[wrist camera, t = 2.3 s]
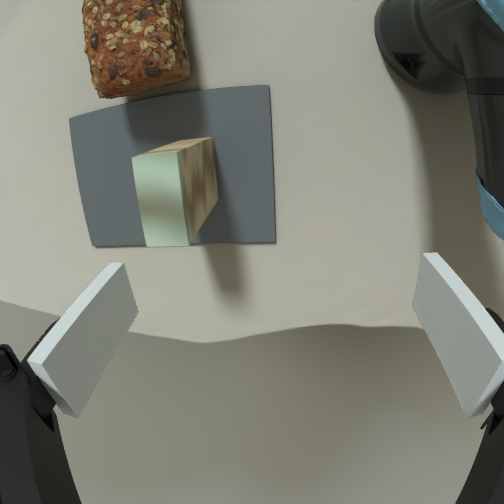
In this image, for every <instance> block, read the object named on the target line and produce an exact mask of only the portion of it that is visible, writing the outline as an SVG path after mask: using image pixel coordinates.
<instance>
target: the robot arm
mask: <svg viewBox="0 0 504 504" xmlns="http://www.w3.org/2000/svg"><path fill="white" fill-rule="evenodd" d="M375 35H376V39H377V42H378V45H379V48H380V50H381V52H382V54H383V56H384V57H385V59H386V60H387V62H388V63H389V65H390V66H391V67H392V68H393V70H394V71H395V72H396V73H397V74H398V75H399V76H400V77H401V78H403V79H404V80H405V81H406V82H408V83H409V84H411V85H413V86H414V87H416V88H418V89H420V90H423V91H426V92H430V93H437V94H443V93H454V92H458V91H460V90H463V89H465V88H466V89H467V93H468V94H467V96H468V101H469V107H470V112H471V118H472V125H473V132H474V139H475V148H476V161H477V168H476V179H477V182H478V186H479V198H480V209H481V213H482V215H483V218H484V220H485V221H486V222H487V224H488V225H489V226H490V228H491V229H492V231H493V232H494V233H495V234H496V235H497V236H499V237H500V238H501V239H502V240H504V0H384V1H383V2H382V3H381V4H380V6H379V7H378V10H377V12H376V16H375ZM412 308H413V309H414V311H415V313H416V315H417V317H418V319H419V320H420V322H421V324H422V326H423V328H424V330H425V332H426V333H427V335H428V337H429V339H430V341H431V343H432V345H433V347H434V349H435V351H436V353H437V355H438V357H439V359H440V361H441V363H442V366H443V368H444V370H445V372H446V374H447V376H448V378H449V380H450V383H451V385H452V387H453V389H454V392H455V394H456V396H457V398H458V401H459V403H460V406H461V408H462V410H463V413H464V415H465V418H466V419H467V418H470V417H473V416H476V415H479V414H482V413H483V412H484V411H485V409H486V408H487V407H488V405H489V404H490V402H491V404H492V406H493V408H494V409H493V411H492V413H491V414H490V415H489V416H488V418H487V419H486V420H485V422H484V423H483V424H482V426H481V428H480V429H483V428H484V427H485V425H486V424H487V426H486V430H485V433H484V436H483V439H482V442H481V444H480V447H479V450H478V453H477V455H476V458H475V461H474V463H473V466H472V468H471V471H470V473H469V475H468V478H467V480H466V482H465V485H464V487H463V489H462V491H461V493H460V495H459V497H458V499H457V501H456V504H504V322H503V321H502V319H501V318H500V317H499V316H498V315H497V314H496V313H495V312H493V311H492V310H491V309H489V308H484V307H483V306H482V304H481V303H480V302H479V301H478V299H477V298H476V297H475V296H474V294H473V293H472V292H471V291H470V290H469V288H468V287H467V286H466V285H465V284H464V282H463V281H462V280H461V279H460V278H459V277H458V275H457V274H456V273H455V272H454V271H453V270H452V269H451V267H450V266H449V265H448V264H447V263H446V262H445V261H444V260H443V259H442V257H441V256H440V255H439V254H438V253H422V259H421V264H420V270H419V275H418V280H417V284H416V289H415V293H414V298H413V302H412ZM138 313H139V311H138V308H137V305H136V302H135V299H134V296H133V292H132V289H131V286H130V282H129V279H128V275H127V272H126V268H125V265H124V263H110V264H109V265H108V266H107V267H106V268H105V269H104V270H103V271H102V272H101V273H100V274H99V275H98V276H97V277H96V279H95V280H94V281H93V282H92V283H91V284H90V285H89V286H88V287H87V288H86V289H85V291H84V292H83V293H82V294H81V295H80V296H79V297H78V298H77V300H76V301H75V302H74V303H73V304H72V305H71V306H70V308H69V309H68V310H67V311H66V312H65V313H64V315H63V316H62V317H61V318H60V319H58V320H57V321H55V322H54V323H52V324H51V325H50V327H49V328H48V329H47V330H46V331H45V334H43V335H42V336H41V338H40V339H39V341H37V342H36V344H35V345H34V346H33V348H32V349H31V350H30V351H29V352H28V354H27V355H26V356H25V357H24V359H23V360H22V362H21V363H20V362H19V360H18V359H17V357H16V355H15V354H14V352H13V350H12V349H11V347H10V346H9V345H7V344H2V345H0V504H81V501H80V498H79V495H78V492H77V490H76V487H75V484H74V481H73V478H72V474H71V471H70V468H69V464H68V461H67V458H66V454H65V450H64V446H63V442H62V438H61V434H60V430H59V425H58V420H57V416H56V414H55V412H54V410H53V408H54V406H55V404H57V406H58V407H59V408H60V409H61V411H62V412H63V413H64V414H67V415H70V416H73V417H77V418H79V416H80V415H81V413H82V411H83V409H84V407H85V405H86V403H87V401H88V400H89V398H90V396H91V394H92V392H93V390H94V388H95V387H96V385H97V383H98V381H99V379H100V378H101V376H102V374H103V372H104V370H105V369H106V367H107V365H108V363H109V361H110V360H111V358H112V356H113V355H114V353H115V351H116V349H117V348H118V346H119V344H120V343H121V341H122V339H123V337H124V336H125V334H126V332H127V331H128V329H129V327H130V326H131V324H132V322H133V321H134V319H135V317H136V316H137V314H138Z"/></svg>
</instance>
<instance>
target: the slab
mask: <svg viewBox="0 0 504 504" xmlns="http://www.w3.org/2000/svg"><path fill="white" fill-rule="evenodd" d="M132 165H133V172H134V179H135V186H136V192H137V198H138V204H139V210H140V215H141V221H142V226H143V231H144V236H145V241H146V246H147V247H157V246H189V245H190V243H191V241H192V240H193V238H194V237H195V235H196V233H197V232H198V230H199V229H200V227H201V226H202V224H203V222H204V221H205V219H206V218H207V216H208V215H209V213H210V212H211V210H212V208H213V207H214V205H215V204H216V202H217V201H218V190H217V179H216V168H215V156H214V144H213V137H206V138H196V139H186V140H180V141H177V142H174V143H171V144H168V145H165V146H162V147H159V148H156V149H154V150H151V151H148V152H145V153H143V154H140V155H137V156H135V157H132Z"/></svg>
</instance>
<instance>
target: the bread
mask: <svg viewBox="0 0 504 504" xmlns="http://www.w3.org/2000/svg"><path fill="white" fill-rule="evenodd" d="M82 13H83V24H84V34H85V42H86V45H85V47H84V52H85V53H86V54H87V56H88V59H89V63H90V72H91V75H92V83H93V85H94V88H95V89H96V90H97V94H98V95H99V97H100V98H106V99H108V98H110V99H113V98H118V97H124V96H129V95H133V94H136V93H139V92H143V91H146V90H150V89H154V88H157V87H160V86H167V85H170V84H173V83H177V82H180V81H183V80H186V79H189V77H190V74H191V70H190V63H189V56H188V51H187V42H186V38H185V36H186V33H185V26H184V21H183V11H182V3H181V0H84V3H83V8H82ZM100 98H99V99H100Z"/></svg>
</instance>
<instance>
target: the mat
mask: <svg viewBox="0 0 504 504" xmlns="http://www.w3.org/2000/svg"><path fill="white" fill-rule="evenodd" d="M69 124H70V133H71V141H72V148H73V155H74V162H75V168H76V174H77V180H78V185H79V190H80V195H81V200H82V205H83V210H84V214H85V219H86V223H87V227H88V231H89V235H90V239H91V243H92V246H114V245H146V241H145V236H144V231H143V226H142V221H141V215H140V210H139V204H138V198H137V192H136V186H135V179H134V172H133V165H132V157H135V156H137V155H140V154H143V153H145V152H148V151H151V150H154V149H156V148H159V147H162V146H165V145H168V144H171V143H174V142H177V141H180V140H186V139H196V138H206V137H213V144H214V156H215V168H216V179H217V190H218V201H217V202H216V204H215V205H214V207H213V208H212V210H211V212H210V213H209V215H208V216H207V218H206V219H205V221H204V222H203V224H202V226H201V227H200V229H199V230H198V232H197V233H196V235H195V237H194V238H193V240H192V241H191V243H234V242H275V208H274V181H273V157H272V135H271V115H270V96H269V85H255V86H240V87H228V88H217V89H208V90H200V91H192V92H185V93H178V94H172V95H166V96H160V97H155V98H149V99H144V100H139V101H134V102H130V103H125V104H121V105H117V106H112V107H108V108H104V109H101V110H97V111H93V112H90V113H86V114H82V115H79V116H76V117H72V118H69Z"/></svg>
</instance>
